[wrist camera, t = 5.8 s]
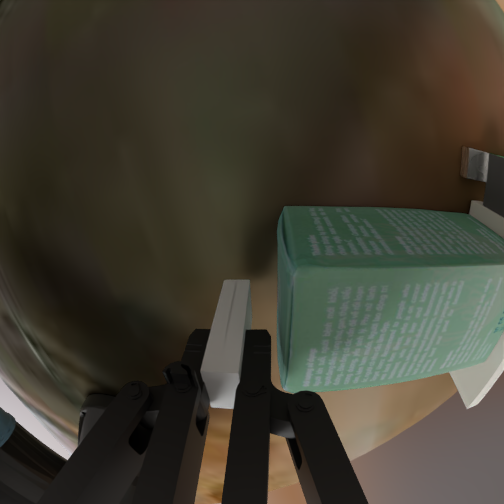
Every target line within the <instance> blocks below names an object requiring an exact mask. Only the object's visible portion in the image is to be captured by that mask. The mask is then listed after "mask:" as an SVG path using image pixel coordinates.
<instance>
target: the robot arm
mask: <svg viewBox="0 0 504 504" xmlns="http://www.w3.org/2000/svg"><path fill="white" fill-rule="evenodd" d="M251 325H252V307H251V291H250V280H224V282H223V286H222V290H221V293H220V297H219V301H218V305H217V308H216V312H215V316H214V320H213V324H212V327H211V329H195V330H194V332H193V333H192V334H191V335H190V336H189V339H188V342H187V345H186V348H185V351H184V354H183V357H182V360H181V361H178V362H173V363H170V364H169V365H168V366H166V367H165V368H164V370H163V374H164V377H165V379H166V381H167V384H165V385H161V386H154V387H148V386H147V385H146V384H145V383H143V382H140V381H132V382H130V383H127V384H126V385H125V386H124V387H123V388H122V389H121V390H120V392H119V393H118V394H117V396H116V397H113V396H109V395H104V394H92V395H89V396H87V398H86V400H85V401H84V403H83V405H82V408H81V410H80V421H79V432H78V447H77V449H76V450H75V451H74V453H73V454H72V455H71V457H70V458H69V459H68V460H66V459H65V458H63V457H62V456H60V455H59V454H57V453H56V452H54V451H53V450H52V449H50V448H49V447H47V446H46V445H45V444H43V443H42V442H41V441H39V440H38V439H37V438H36V437H34V436H33V435H32V434H30V433H29V432H28V431H27V430H26V429H24V428H23V427H22V426H21V425H20V424H19V423H18V422H16V421H15V418H14V417H13V416H12V415H10V414H9V413H7V412H5V411H4V410H3V409H2V408H1V407H0V504H194V502H195V496H196V490H197V485H198V479H199V473H200V468H201V462H202V457H203V451H204V446H205V440H206V435H207V429H208V424H209V412H208V408H209V403H210V405H211V407H213V408H226V409H233V416H232V424H231V432H230V440H229V448H228V456H227V464H226V472H225V480H224V487H223V495H222V503H221V504H267V499H268V498H267V497H268V476H269V447H270V433H271V434H275V435H278V436H282V437H285V438H286V441H287V444H288V447H289V450H290V453H291V457H292V460H293V463H294V466H295V469H296V472H297V475H298V478H299V481H300V484H301V487H302V490H303V493H304V496H305V499H306V502H307V504H368V502H367V499H366V497H365V495H364V493H363V490H362V488H361V486H360V483H359V481H358V479H357V477H356V474H355V473H354V470H353V467H352V465H351V463H350V461H349V458H348V456H347V454H346V452H345V449H344V447H343V445H342V443H341V440H340V438H339V436H338V434H337V431H336V429H335V427H334V425H333V422H332V420H331V418H330V416H329V413H328V411H327V409H326V407H325V405H324V402H323V400H322V399H321V397H320V396H319V395H318V394H316V393H315V392H312V391H308V390H305V391H299V392H297V393H294V394H289V393H285V392H282V391H280V390H278V389H277V388H275V387H274V385H273V384H272V382H271V336H270V334H269V333H268V331H267V330H251Z"/></svg>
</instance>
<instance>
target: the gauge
mask: <svg viewBox="0 0 504 504" xmlns="http://www.w3.org/2000/svg"><path fill="white" fill-rule="evenodd" d="M490 154H492V153H490ZM493 155H495V154H493ZM497 156H499V155H497ZM500 157H502V156H500ZM503 158H504V157H503ZM488 160H489V153H486V152H483V151H479V150H476V149H472V148H468V147H464V146H462V159H461V171H460V176H462V177H465V178H467V179H473V180H478V181H483V182H486V180H487V171H488Z"/></svg>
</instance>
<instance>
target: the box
mask: <svg viewBox="0 0 504 504" xmlns="http://www.w3.org/2000/svg"><path fill="white" fill-rule="evenodd" d="M277 241H278V296H277V353H278V365H279V372H280V380H281V385H282V387H283V388H284V390H285V391H288V392H291V393H297V392H299V391H305V390H308V391H312V392H324V391H337V390H348V389H357V388H365V387H372V386H380V385H387V384H394V383H400V382H406V381H411V380H416V379H421V378H425V377H430V376H434V375H439V374H443V373H447V372H451V371H455V370H459V369H463V368H467V367H471V366H474V365H477V364H480V363H483V362H485V361H486V360H487V358H488V357H489V355H490V353H491V352H492V350H493V349H494V347H495V345H496V344H497V342H498V340H499V339H500V337H501V335H502V333H503V332H504V239H503V238H502V237H500V236H499V235H498V234H497V233H495V232H494V231H493V230H491V229H490V228H488V227H487V226H486V225H484V224H483V223H481V222H480V221H479V220H477V219H476V218H474V217H473V216H471V215H469V214H464V213H455V212H443V211H433V210H423V209H408V208H385V207H331V206H284V208H283V211H282V213H281V215H280V218H279V221H278V228H277Z"/></svg>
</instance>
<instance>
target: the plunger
mask: <svg viewBox="0 0 504 504" xmlns="http://www.w3.org/2000/svg"><path fill="white" fill-rule="evenodd" d="M469 215H471V216H473V217H474V218H476V219H477V220H479V221H480V222H481V223H483V224H484V225H486V226H487V227H488V228H490V229H491V230H493V231H494V232H495V233H497V234H498V235H499V236H500V237H502V238H503V239H504V158H503V157H500V156H497V155H493V154H490V153H489V160H488V171H487V180H486V187H485V194H484V200H483V202H482V201H474V200H471V206H470V212H469ZM503 370H504V332H503V333H502V335H501V337H500V339H499V340H498V342H497V344H496V345H495V347H494V349H493V350H492V352H491V353H490V355H489V357H488V358H487V360H486V361H485V362H483V363H480V364H477V365H474V366H471V367H467V368H463V369H459V370H455V371H451V372H449V373H450V375H451V377H452V379H453V381H454V383H455V385H456V387H457V389H458V391H459V393H460V395H461V397H462V400H463V402H464V404H465V406H466V408H467V409H468V408H470V407H473V406H475V405H477V404H478V403H479V402H480V401H481V400H482V399H483V397H484V396H485V395H486V393H487V392H488V391H489V390H490V388H491V387H492V386H493V384H494V383H495V382H496V380H497V379H498V377H499V376H500V375H501V373H502V372H503Z"/></svg>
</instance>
